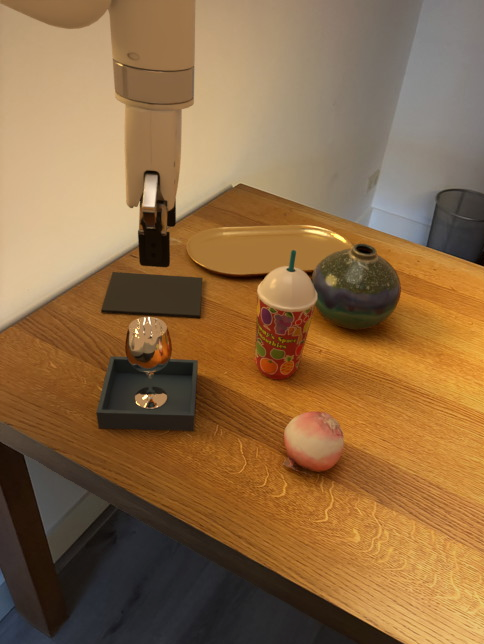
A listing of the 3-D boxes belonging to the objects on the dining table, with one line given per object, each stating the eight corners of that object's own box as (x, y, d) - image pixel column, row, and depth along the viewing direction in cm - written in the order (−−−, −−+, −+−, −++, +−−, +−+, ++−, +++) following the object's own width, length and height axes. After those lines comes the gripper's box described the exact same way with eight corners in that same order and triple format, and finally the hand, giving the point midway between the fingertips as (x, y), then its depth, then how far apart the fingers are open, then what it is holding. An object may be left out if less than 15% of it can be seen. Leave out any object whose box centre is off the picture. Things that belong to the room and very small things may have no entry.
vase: (293, 295, 100) (304, 228, 91) (368, 290, 105) (385, 225, 96) (324, 347, 89) (339, 277, 80) (406, 338, 94) (429, 271, 85)
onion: (347, 478, 69) (359, 440, 64) (289, 488, 67) (297, 449, 62) (325, 432, 75) (335, 394, 70) (271, 440, 72) (278, 401, 68)
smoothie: (240, 375, 81) (251, 256, 68) (260, 345, 88) (275, 230, 75) (292, 393, 80) (314, 274, 67) (309, 360, 86) (332, 246, 73)
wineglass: (122, 407, 73) (116, 336, 65) (138, 380, 77) (133, 310, 70) (164, 416, 73) (162, 345, 65) (177, 388, 77) (177, 319, 69)
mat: (101, 312, 89) (101, 309, 89) (112, 274, 98) (112, 271, 98) (200, 318, 91) (200, 315, 91) (202, 280, 100) (202, 277, 100)
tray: (98, 428, 70) (96, 412, 68) (112, 371, 79) (110, 356, 77) (194, 431, 72) (194, 415, 70) (197, 375, 80) (197, 359, 78)
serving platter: (178, 235, 112) (178, 228, 111) (334, 229, 123) (335, 223, 122) (196, 284, 99) (196, 276, 98) (368, 273, 110) (370, 266, 109)
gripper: (126, 58, 58) (135, 209, 69) (98, 104, 45) (114, 281, 56) (197, 66, 59) (194, 214, 70) (189, 113, 46) (187, 286, 57)
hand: (158, 244), depth 63 cm, fingers open, 9 cm apart
